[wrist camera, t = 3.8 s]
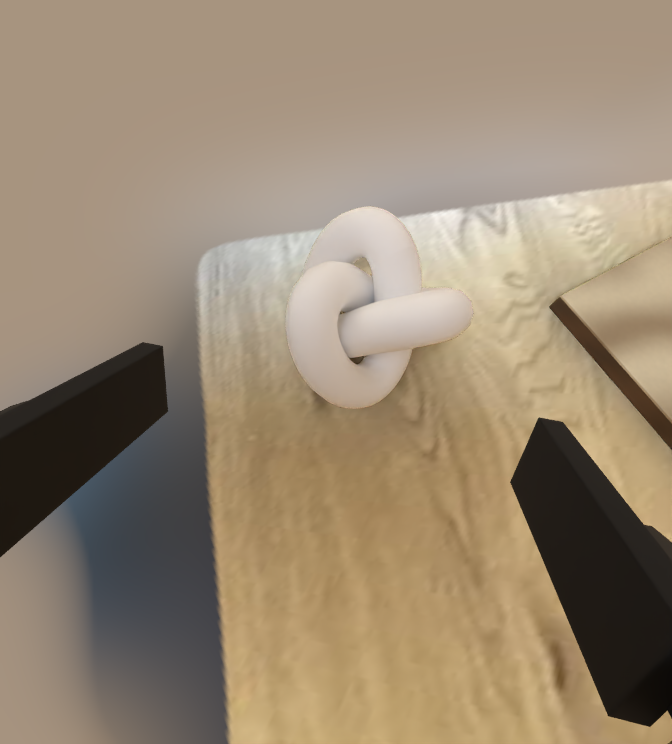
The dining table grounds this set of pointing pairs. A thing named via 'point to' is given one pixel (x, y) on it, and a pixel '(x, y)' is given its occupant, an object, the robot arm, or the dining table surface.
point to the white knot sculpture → (366, 309)
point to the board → (630, 329)
